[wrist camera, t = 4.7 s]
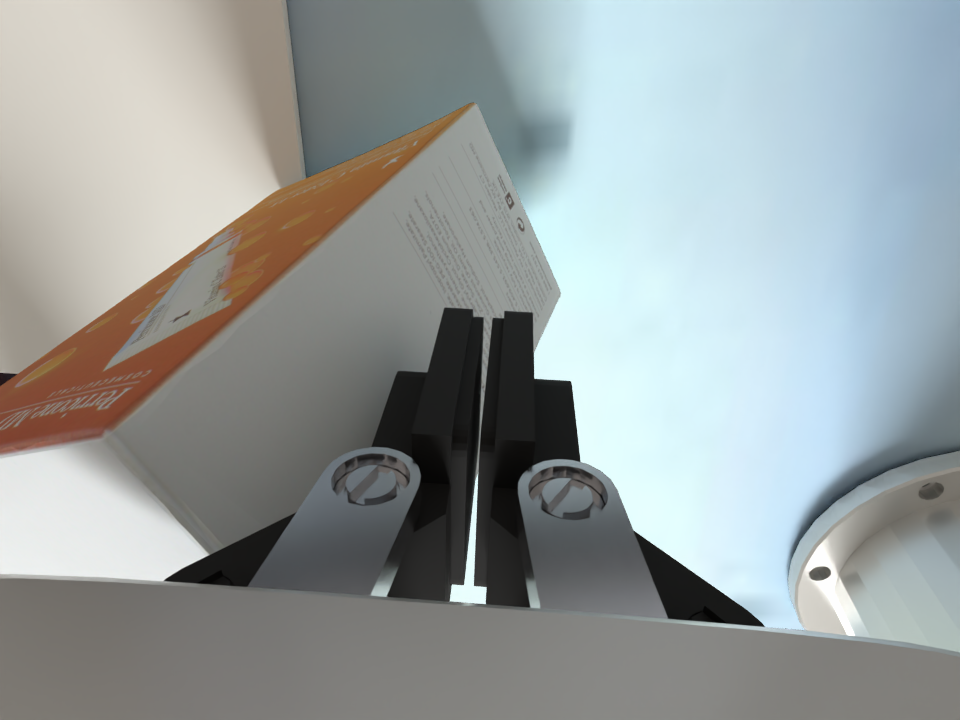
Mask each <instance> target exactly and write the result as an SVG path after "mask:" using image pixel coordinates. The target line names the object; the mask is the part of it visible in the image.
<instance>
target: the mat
mask: <svg viewBox="0 0 960 720" xmlns="http://www.w3.org/2000/svg"><path fill="white" fill-rule="evenodd" d="M303 179H306V172H305V163H304V154H303V145H302V136H301V128H300V119H299V110H298V101H297V92H296V83H295V74H294V65H293V56H292V47H291V38H290V29H289V20H288V12H287V3H286V0H0V373H14V374H18V373H20V372H21V371H23V370H24V369H26V368H27V367H28V366H30V365H31V364H33V363H34V362H35V361H37V360H38V359H40V358H41V357H42V356H44V355H45V354H47V353H48V352H49V351H51V350H52V349H54V348H55V347H56V346H58V345H59V344H61V343H62V342H63V341H65V340H66V339H68V338H69V337H71V336H72V335H73V334H75V333H76V332H78V331H79V330H81V329H82V328H83V327H85V326H86V325H88V324H89V323H91V322H92V321H93V320H95V319H96V318H98V317H99V316H101V315H102V314H103V313H105V312H106V311H108V310H109V309H111V308H112V307H113V306H115V305H116V304H118V303H119V302H120V301H122V300H123V299H125V298H126V297H127V296H129V295H130V294H132V293H133V292H134V291H136V290H137V289H139V288H140V287H141V286H143V285H144V284H146V283H147V282H148V281H150V280H151V279H153V278H154V277H156V276H157V275H159V274H160V273H162V272H163V271H165V270H166V269H167V268H169V267H170V266H171V265H173V264H174V263H176V262H177V261H178V260H180V259H181V258H183V257H184V256H186V255H187V254H189V253H190V252H191V251H193V250H194V249H196V248H197V247H198V246H199V245H201V244H202V243H204V242H205V241H206V240H208V239H209V238H210V237H212V236H213V235H215V234H216V233H218V232H219V231H220V230H222V229H223V228H225V227H226V226H227V225H229V224H230V223H232V222H233V221H234V220H236V219H237V218H239V217H240V216H242V215H243V214H244V213H246V212H247V211H249V210H250V209H251V208H253V207H254V206H255V205H257V204H258V203H259V202H261V201H262V200H263V199H265V198H266V197H268V196H269V195H271V194H272V193H274V192H275V191H277V190H279V189H281V188H284V187H287V186H289V185H291V184H294V183H296V182H298V181H301V180H303Z"/></svg>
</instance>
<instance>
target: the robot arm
mask: <svg viewBox="0 0 960 720" xmlns="http://www.w3.org/2000/svg"><path fill="white" fill-rule="evenodd" d="M483 331H484V317H473V309H464V308H446V307H445V308H444V311H443V314H442V318H441V322H440V326H439V330H438V333H437V337H436V341H435V345H434V349H433V353H432V356H431V360H430V364H429V368H428V372H413V371H398V372H397V374H396V376H395V379H394V382H393V385H392V388H391V391H390V393H389V396H388V399H387V402H386V405H385V408H384V411H383V414H382V417H381V420H380V423H379V426H378V429H377V432H376V435H375V437H374V440H373V443H372V446H371V447H369V448H362V449H357V450H354V451H351V452H348V453H345V454H343V455H342V456H340V457H338V458H337V459H335V460H333V461H332V462H331V463H330V464H329V465H328V467H327V468H326V469H325V470H324V471H323V473H322V474H321V476H320V477H319V479H318V480H317V482H316V483H315V485H314V486H313V488H312V489H311V491H310V492H309V494H308V496H307V497H306V499H305V500H304V502H303V503H302V505H301V506H300V508H299V509H298V511H297V512H296V513H294V514H292V515H290V516H288V517H285V518H283V519H281V520H279V521H277V522H275V523H273V524H271V525H269V526H267V527H265V528H263V529H261V530H259V531H257V532H255V533H253V534H251V535H249V536H247V537H245V538H243V539H241V540H239V541H237V542H235V543H233V544H231V545H229V546H227V547H225V548H223V549H221V550H219V551H217V552H215V553H212V554H210V555H208V556H206V557H204V558H202V559H200V560H198V561H196V562H194V563H192V564H190V565H188V566H186V567H184V568H182V569H180V570H179V571H177V572H176V573H174V574H172V575H171V576H169V577H168V578H166V579H165V580H164V581H152V580H137V579H122V578H107V577H85V576H56V575H27V574H0V720H960V451H957V452H952V453H947V454H943V455H938V456H933V457H928V458H924V459H920V460H917V461H914V462H912V463H909V464H906V465H903V466H900V467H897V468H894V469H891V470H889V471H887V472H885V473H883V474H881V475H879V476H877V477H875V478H873V479H871V480H869V481H867V482H865V483H863V484H861V485H859V486H858V487H856V488H855V489H853V490H852V491H850V492H849V493H847V494H846V495H845V496H843V497H842V498H840V499H839V500H837V501H836V502H835V503H833V504H832V505H831V506H830V507H829V508H828V509H827V510H826V511H825V512H824V513H823V514H822V515H821V516H820V517H819V518H817V519H816V520H815V521H814V523H813V524H812V525H811V527H810V528H809V529H808V531H807V532H806V533H805V535H804V536H803V538H802V539H801V540H800V542H799V544H798V546H797V549H796V551H795V553H794V555H793V558H792V560H791V564H790V570H789V576H788V586H789V594H790V599H791V601H792V604H793V606H794V609H795V611H796V614H797V617H798V619H799V622H800V623H801V625H802V626H803V628H804V629H805V630H796V629H786V628H785V629H782V628H770V627H765V626H764V625H763V624H762V623H761V622H760V621H759V620H758V619H757V618H756V617H754V616H753V615H752V614H751V613H750V612H749V611H747V610H746V609H745V608H743V607H742V606H740V605H739V604H737V603H736V602H735V601H733V600H732V599H730V598H729V597H727V596H726V595H725V594H723V593H722V592H720V591H719V590H717V589H716V588H715V587H713V586H712V585H710V584H709V583H707V582H706V581H705V580H703V579H702V578H700V577H699V576H697V575H696V574H695V573H693V572H692V571H690V570H689V569H687V568H686V567H685V566H683V565H682V564H680V563H679V562H677V561H676V560H675V559H673V558H672V557H670V556H669V555H667V554H666V553H665V552H663V551H662V550H660V549H659V548H657V547H656V546H655V545H653V544H652V543H650V542H649V541H647V540H646V539H645V538H643V537H642V536H640V535H639V534H637V533H636V532H635V531H633V529H632V526H631V524H630V521H629V518H628V516H627V513H626V511H625V508H624V506H623V503H622V501H621V498H620V496H619V493H618V491H617V489H616V487H615V486H614V484H613V482H612V481H611V479H610V478H608V477H607V476H606V475H605V474H604V473H603V472H601V471H600V470H598V469H596V468H594V467H592V466H590V465H588V464H585V463H582V462H580V454H579V445H578V436H577V428H576V419H575V410H574V401H573V392H572V385H571V382H570V381H560V380H544V379H534V345H533V312H516V311H504V318H493V319H492V329H491V338H490V348H489V357H488V367H487V376H486V386H485V395H484V405H483V414H482V424H481V435H480V450H479V473H478V498H477V523H476V548H475V573H474V586H482V587H487V592H486V604H474V603H461V602H449V601H450V593H451V585H452V584H455V585H464V579H465V570H466V561H467V551H468V542H469V533H470V523H471V514H472V504H473V495H474V486H475V476H476V467H477V457H478V448H479V432H480V407H481V382H482V357H483Z"/></svg>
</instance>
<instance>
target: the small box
mask: <svg viewBox="0 0 960 720" xmlns="http://www.w3.org/2000/svg"><path fill="white" fill-rule="evenodd" d="M560 294H561V293H560V289H559V287H558V285H557V282H556V280H555V278H554V276H553V273H552V271H551V268H550V266H549V264H548V262H547V260H546V257H545V255H544V253H543V251H542V248H541V246H540V243H539V241H538V239H537V237H536V235H535V233H534V230H533V228H532V226H531V223H530V221H529V219H528V217H527V215H526V212H525V210H524V208H523V206H522V203H521V201H520V199H519V196H518V194H517V192H516V190H515V188H514V185H513V183H512V181H511V179H510V176H509V174H508V172H507V170H506V167H505V165H504V163H503V161H502V159H501V157H500V154H499V152H498V150H497V148H496V146H495V143H494V141H493V139H492V137H491V134H490V132H489V130H488V128H487V125H486V123H485V121H484V118H483V116H482V114H481V111H480V109H479V107H478V105H477V104H476V103H470V104H468V105H466V106H464V107H462V108H460V109H458V110H456V111H454V112H452V113H450V114H448V115H446V116H445V117H443V118H441V119H439V120H436V121H434V122H432V123H430V124H428V125H426V126H424V127H422V128H420V129H418V130H416V131H413V132H411V133H409V134H407V135H404V136H402V137H400V138H398V139H395V140H393V141H391V142H388V143H386V144H384V145H382V146H380V147H377V148H375V149H373V150H371V151H369V152H367V153H364V154H362V155H360V156H357V157H355V158H353V159H350V160H348V161H346V162H343V163H341V164H339V165H336V166H334V167H332V168H329V169H327V170H324V171H322V172H320V173H317V174H315V175H313V176H310V177H308V178H306V179H303V180H301V181H298V182H296V183H294V184H291V185H289V186H287V187H284V188H281V189H279V190H277V191H275V192H274V193H272V194H271V195H269V196H268V197H266V198H265V199H263V200H262V201H261V202H259V203H258V204H257V205H255V206H254V207H253V208H251V209H250V210H249V211H247V212H246V213H244V214H243V215H242V216H240V217H239V218H237V219H236V220H234V221H233V222H232V223H230V224H229V225H227V226H226V227H225V228H223V229H222V230H220V231H219V232H218V233H216V234H215V235H213V236H212V237H210V238H209V239H208V240H206V241H205V242H204V243H202V244H201V245H199V246H198V247H197V248H196V249H194V250H193V251H191V252H190V253H189V254H187V255H186V256H184V257H183V258H181V259H180V260H178V261H177V262H176V263H174V264H173V265H171V266H170V267H169V268H167V269H166V270H165V271H163V272H162V273H160V274H159V275H157V276H156V277H154V278H153V279H151V280H150V281H148V282H147V283H146V284H144V285H143V286H141V287H140V288H139V289H137V290H136V291H134V292H133V293H132V294H130V295H129V296H127V297H126V298H125V299H123V300H122V301H120V302H119V303H118V304H116V305H115V306H113V307H112V308H111V309H109V310H108V311H106V312H105V313H103V314H102V315H101V316H99V317H98V318H96V319H95V320H93V321H92V322H91V323H89V324H88V325H86V326H85V327H83V328H82V329H81V330H79V331H78V332H76V333H75V334H73V335H72V336H71V337H69V338H68V339H66V340H65V341H63V342H62V343H61V344H59V345H58V346H56V347H55V348H54V349H52V350H51V351H49V352H48V353H47V354H45V355H44V356H42V357H41V358H40V359H38V360H37V361H35V362H34V363H33V364H31V365H30V366H28V367H27V368H26V369H24V370H23V371H21V372H20V373H18V374H17V375H16V376H14V377H13V378H11V379H10V380H9V381H7V382H6V383H4V384H3V385H2V386H0V574H27V575H56V576H85V577H107V578H122V579H137V580H152V581H164V580H165V579H166V578H168V577H169V576H171V575H172V574H174V573H176V572H177V571H179V570H180V569H182V568H184V567H186V566H188V565H190V564H192V563H194V562H196V561H198V560H200V559H202V558H204V557H206V556H208V555H210V554H212V553H215V552H217V551H219V550H221V549H223V548H225V547H227V546H229V545H231V544H233V543H235V542H237V541H239V540H241V539H243V538H245V537H247V536H249V535H251V534H253V533H255V532H257V531H259V530H261V529H263V528H265V527H267V526H269V525H271V524H273V523H275V522H277V521H279V520H281V519H283V518H285V517H288V516H290V515H292V514H294V513H296V512H297V511H298V509H299V508H300V506H301V505H302V503H303V502H304V500H305V499H306V497H307V496H308V494H309V492H310V491H311V489H312V488H313V486H314V485H315V483H316V482H317V480H318V479H319V477H320V476H321V474H322V473H323V471H324V470H325V469H326V468H327V467H328V465H329V464H330V463H331V462H332V461H333V460H335V459H337V458H338V457H340V456H342V455H343V454H345V453H348V452H351V451H354V450H357V449H362V448H369V447H371V446H372V443H373V440H374V437H375V435H376V432H377V429H378V426H379V423H380V420H381V417H382V414H383V411H384V408H385V405H386V402H387V399H388V396H389V393H390V391H391V388H392V385H393V382H394V379H395V376H396V374H397V372H398V371H413V372H428V368H429V364H430V360H431V356H432V353H433V349H434V345H435V341H436V337H437V333H438V330H439V326H440V322H441V318H442V314H443V311H444V308H445V307H446V308H464V309H473V317H484V331H483V357H482V382H481V407H480V432H479V448H478V457H477V467H476V476H475V479H476V477H477V475H478V472H479V450H480V435H481V424H482V414H483V405H484V395H485V386H486V376H487V367H488V357H489V348H490V338H491V329H492V319H493V318H504V311H516V312H533V345H534V351H535V349H536V347H537V345H538V342H539V340H540V338H541V336H542V334H543V332H544V330H545V327H546V325H547V323H548V321H549V319H550V317H551V315H552V312H553V310H554V308H555V305H556V304H557V302H558V299H559V297H560Z"/></svg>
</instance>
